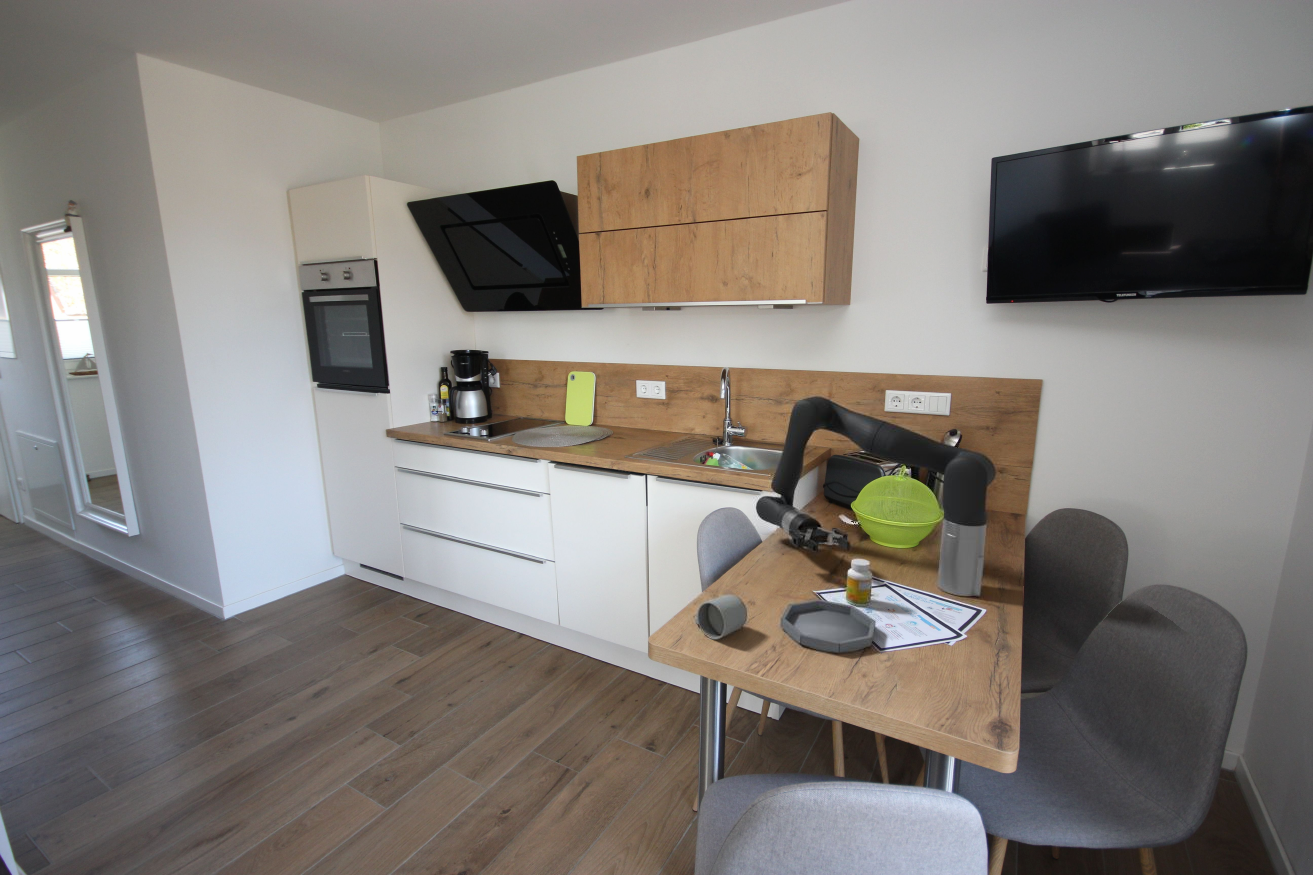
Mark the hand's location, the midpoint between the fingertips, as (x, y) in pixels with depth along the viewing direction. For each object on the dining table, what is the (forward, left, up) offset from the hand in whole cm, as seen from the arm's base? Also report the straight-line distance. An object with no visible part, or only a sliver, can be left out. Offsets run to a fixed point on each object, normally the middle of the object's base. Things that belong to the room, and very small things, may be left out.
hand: (832, 547), depth 148 cm
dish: (-3, +26, -9) cm, 27 cm away
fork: (-4, -50, -9) cm, 51 cm away
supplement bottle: (-7, +9, -9) cm, 15 cm away
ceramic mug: (+17, +35, -9) cm, 40 cm away
